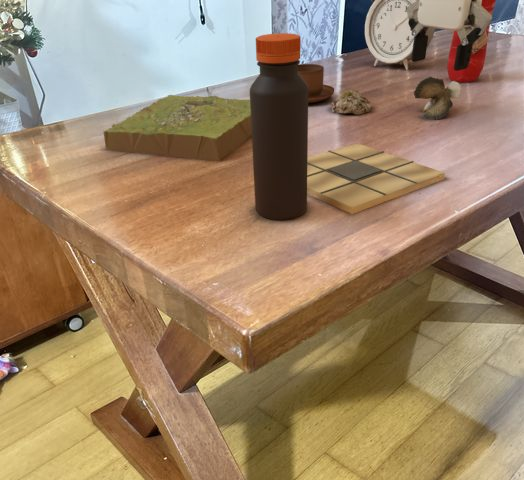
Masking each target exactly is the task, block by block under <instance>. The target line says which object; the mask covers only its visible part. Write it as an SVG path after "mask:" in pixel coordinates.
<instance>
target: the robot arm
mask: <svg viewBox="0 0 524 480" xmlns="http://www.w3.org/2000/svg"><path fill="white" fill-rule="evenodd" d="M481 3H482V0H418V1H416V2H414V3H413V4H411V5H410V6H408V7H407V15H408V19H409V22H408V24H409V26H410V28H411V30H412V33H411V34H412V36H413V37H414V42H413V50H412V58H411V60H410V61H411V62H412V63H416V62H420V61H424V60H425V59H426V56H427V49H428V47H427V43H428V35H425V34H426V33H427V32H428V30H429V29H430V28H435V29H437V30H444V31H451V32H452V31H453V32H454V31H457V33H458V36H459V38H460V41H461V44H460V45H458V47H457V52H456V57H455V63H454V70H456V71H459V70H463V69H467V68H468V64H469V62H470V57H471V52H472V47H473V43H476V42H477V39H478V38H480V37H481V36H482V35H483V34H484V32H485V29H486V28H487V26H488V25H489V23H490V24H491V21H492V19H493V15H492V16H491V14H490V13H488V12H487V11H486V10H485V9H484V8H483V7H482V6H481ZM417 12H418V14H417ZM417 16H418V17H417ZM477 23H478V24H477ZM476 25H477V26H476ZM475 26H476V28H473V27H475Z"/></svg>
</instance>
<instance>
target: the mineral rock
mask: <svg viewBox="0 0 524 480" xmlns="http://www.w3.org/2000/svg"><path fill="white" fill-rule="evenodd" d="M330 105H331V112H332V113H335V114H338V113H339V114H344V115H345V114H353V115H355V116H356V115H362V114H365V113H369V112H370V111H371V109H372V108H373V105H372V104H371V101H370V100H368V98H366V97H365V96H363V95H362V94H361V92H359V91H358V90H356V89H350V90H344V91H342V94H341V95H340V96H339V98H338V99H336V100H334V101H333V102H331V103H330Z"/></svg>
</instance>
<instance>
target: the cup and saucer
mask: <svg viewBox="0 0 524 480" xmlns="http://www.w3.org/2000/svg"><path fill="white" fill-rule="evenodd" d="M324 69H325V68H324V65H321V64H317V63H316V64H315V63H300V64H298V65H297V72H298V74H299V75H300V76H301V77H302V78H303V79H304V81H305V82H306V83H307V84H308V104H313V103H318V102H322V101H325V100H328V99H329V98H331V97H332V96H333V95H334V93H335V87H333V86H332V85H328V84H324V74H325V73H324V72H325V70H324Z"/></svg>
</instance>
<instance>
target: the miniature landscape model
mask: <svg viewBox="0 0 524 480" xmlns="http://www.w3.org/2000/svg"><path fill="white" fill-rule="evenodd" d="M102 132H103V138H104V145H105V150H106V151H111V152H112V151H114V152H123V153H132V154H142V155H151V156H161V157H162V156H164V157H172V158H173V157H174V158H184V159H192V160H193V159H195V160H202V161H203V160H205V161H212V162H213V161H215V162H220V161H222V159H224V158H225V157H226V156H227V155H229V154H230V153H232V151H234V150H235V149H236V148H238V146H240V145H242V143H244V142H245V141H246V140H248V139H249V138H250V137H252V129H251V110H250V99H238V98H225V97H219V96H216V95H213V96H212V95H210V96H199V95H196V96H194V95H193V96H191V95H190V96H187V95H186V96H183V95H172V94H168V95H167V96H166V97H165V96H164V97H163V98H160V99H157V100H156V102H155V101H153V102H152V103H151V104H150V105H149V106H145V107H143V108H142V109H140V110H138V111H136V112H135V113H134V114H132V116H128V117H127V118H126V119H125V120H122V121H121V122H118V123H116V124H115V123H114V124H111V127H110V128H108V129H106V130H103V131H102Z"/></svg>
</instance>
